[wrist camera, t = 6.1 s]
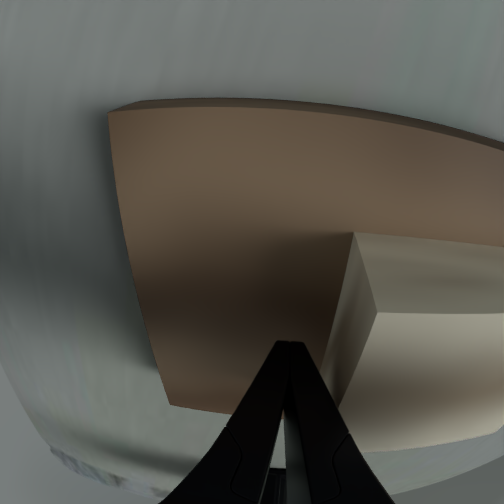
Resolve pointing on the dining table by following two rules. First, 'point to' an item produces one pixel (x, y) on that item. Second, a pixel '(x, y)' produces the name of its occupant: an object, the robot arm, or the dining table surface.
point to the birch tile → (418, 342)
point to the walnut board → (276, 221)
